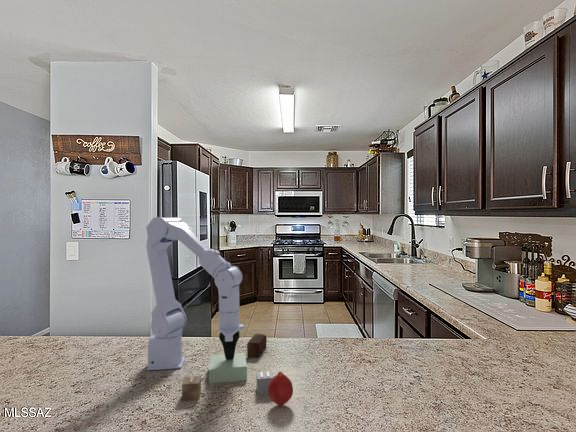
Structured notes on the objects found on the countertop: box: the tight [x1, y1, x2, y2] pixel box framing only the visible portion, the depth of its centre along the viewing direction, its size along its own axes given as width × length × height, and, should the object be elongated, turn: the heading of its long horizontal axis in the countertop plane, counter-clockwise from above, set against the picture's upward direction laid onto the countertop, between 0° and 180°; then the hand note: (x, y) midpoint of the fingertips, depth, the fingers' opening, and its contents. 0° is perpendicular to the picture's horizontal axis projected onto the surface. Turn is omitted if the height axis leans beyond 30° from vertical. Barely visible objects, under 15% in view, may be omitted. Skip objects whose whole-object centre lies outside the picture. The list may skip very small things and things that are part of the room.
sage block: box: [208, 352, 248, 384], centre depth 101 cm, size 10×10×4 cm
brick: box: [246, 333, 268, 358], centre depth 117 cm, size 11×4×5 cm, turn 170°
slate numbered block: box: [256, 370, 274, 396], centre depth 91 cm, size 4×4×4 cm
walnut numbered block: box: [181, 375, 202, 402], centre depth 88 cm, size 4×4×4 cm
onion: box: [268, 370, 294, 407], centre depth 83 cm, size 6×6×8 cm
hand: (229, 358), depth 101 cm, fingers closed
